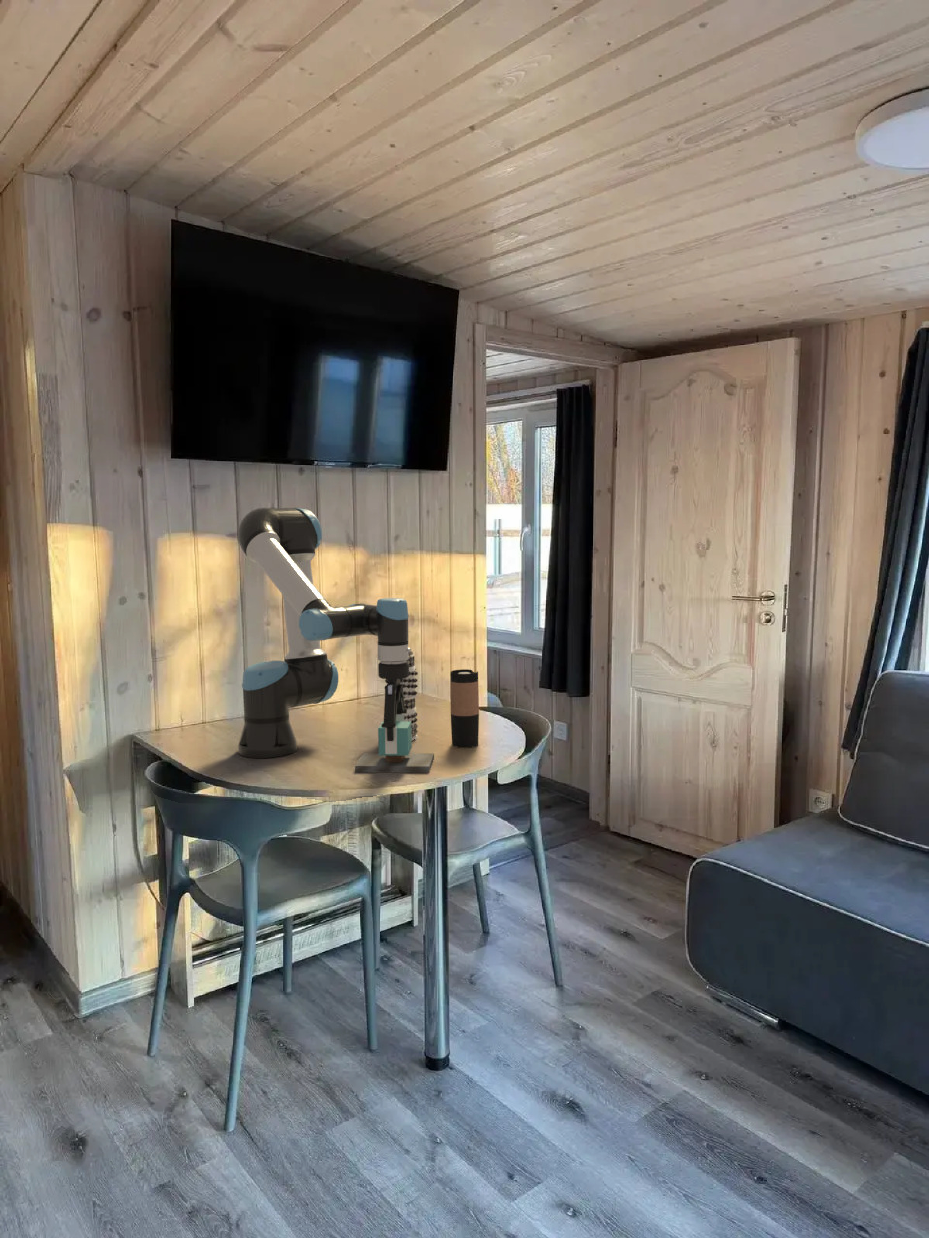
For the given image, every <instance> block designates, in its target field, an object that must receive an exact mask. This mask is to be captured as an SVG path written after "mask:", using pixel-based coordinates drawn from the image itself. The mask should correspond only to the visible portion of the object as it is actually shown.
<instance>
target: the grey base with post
mask: <svg viewBox="0 0 929 1238" xmlns="http://www.w3.org/2000/svg"><path fill="white" fill-rule="evenodd" d="M433 760H435V753H433V752H432V753H429V752H428V753H423V752H422V753H420V752H419V753H418V752H415V753H414V752H410V753H409V755H408V756H389V755H379V752H363V754H362V755H361V756H360V758H359V760H358V761H357V762H356V763H355V766H354V772H355V773H427V774H428V773H430V771H431V769H432V767H433V764H432V763H434V761H433Z"/></svg>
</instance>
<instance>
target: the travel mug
mask: <svg viewBox="0 0 929 1238" xmlns="http://www.w3.org/2000/svg"><path fill="white" fill-rule="evenodd" d="M449 673H450V674H449V675H450V726H451V727H450V728H451V745H452V746H453V747H455V746H457V747H456V748H460V747H469V748H473V747H472V746H475V747H477V746H478V745H479V732H480V731H479V730H480V729H479V727H480V726H479V724H480V721H479V720H480V704H479V703H480V699H479V698H480V697H479V671H478V670H477V671H476V672H475V671H473V670H472V669H467V668H466V669H454V670H452V671H450V672H449Z"/></svg>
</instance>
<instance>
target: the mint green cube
mask: <svg viewBox="0 0 929 1238" xmlns="http://www.w3.org/2000/svg"><path fill="white" fill-rule="evenodd" d="M390 722H392V721H390ZM383 723H384V720H383V721H382V722H381V723H380V725H379V726H378V727H377V731H378V732H377V734H378V735H377V736H378V737H377V738H378V753H379V755H389V756H408V755H409V753H411V751H412V748H413V747H412V746H413V745H412V743H413V742H412V741H413V740H412V737H411V721H396V726H395V727H397V754H385V728H382V724H383Z"/></svg>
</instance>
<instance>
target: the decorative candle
mask: <svg viewBox="0 0 929 1238" xmlns="http://www.w3.org/2000/svg"><path fill="white" fill-rule="evenodd" d="M408 654H409V659H408V660H407V662H408V663H409V676H408V677H407V678H404V679H403V693H404V704H405V709H407V713H402V714H404V721H411V737H412V741H415V740H417V739H418V735H417V734H418V731H419V730H418V729H417V728H418V727H419V726H418V724H417V721H418V719H417V716H418V713H417V706H416V698H418V695H417V694H418V692H417V691H416V690H415V689H417V688H418V684H416V683H417V682H418V679H417V678H415V676H417V675H418V674H419V673H418V671H416V670H417V668H416V664H415V656H416V654H415V653H413V651H412V650H411V651H410V652H408ZM384 682H385V683H386V684H387V683H388V680H387V679H384ZM414 739H415V740H414Z"/></svg>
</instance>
